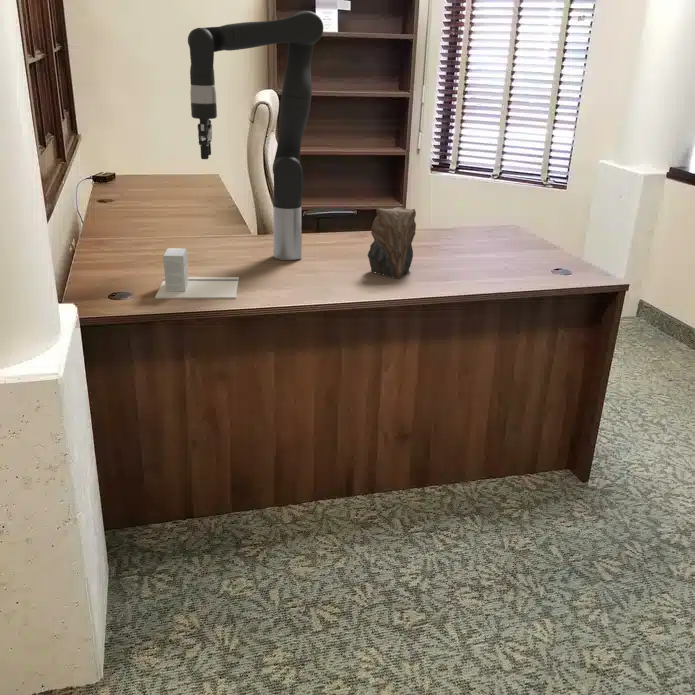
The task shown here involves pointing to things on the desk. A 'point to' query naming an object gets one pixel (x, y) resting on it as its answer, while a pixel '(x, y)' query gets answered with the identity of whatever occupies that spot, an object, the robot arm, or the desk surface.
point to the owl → (392, 241)
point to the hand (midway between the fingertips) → (206, 157)
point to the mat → (203, 289)
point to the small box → (176, 269)
